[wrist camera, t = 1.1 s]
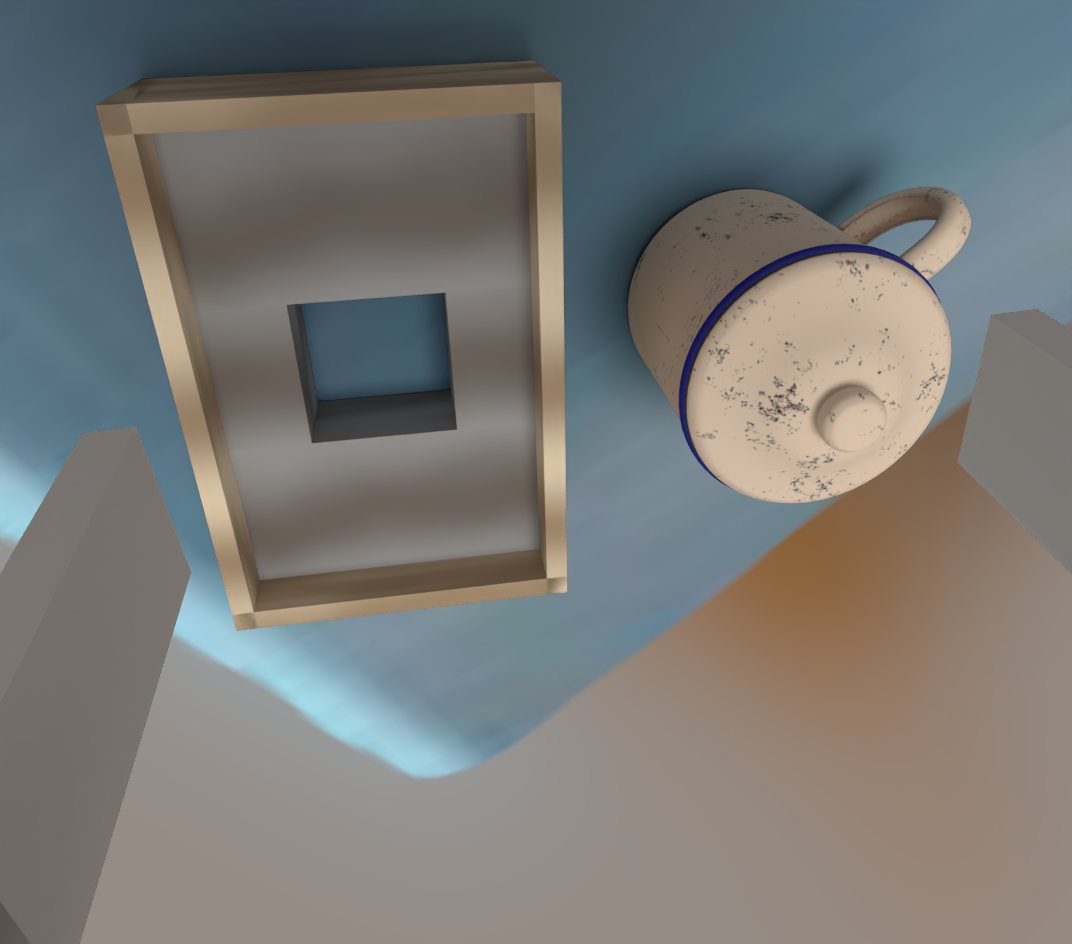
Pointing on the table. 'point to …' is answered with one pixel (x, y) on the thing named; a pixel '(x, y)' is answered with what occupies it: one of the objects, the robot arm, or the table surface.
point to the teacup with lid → (797, 336)
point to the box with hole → (348, 274)
